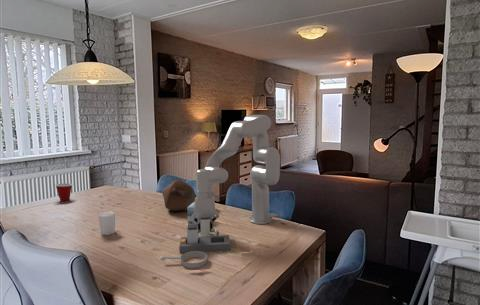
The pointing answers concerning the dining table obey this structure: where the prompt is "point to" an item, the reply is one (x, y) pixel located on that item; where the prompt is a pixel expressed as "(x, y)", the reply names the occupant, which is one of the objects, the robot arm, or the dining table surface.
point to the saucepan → (189, 255)
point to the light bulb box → (190, 210)
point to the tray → (213, 230)
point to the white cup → (107, 223)
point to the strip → (206, 244)
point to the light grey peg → (192, 234)
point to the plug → (205, 226)
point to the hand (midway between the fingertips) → (205, 230)
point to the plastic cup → (64, 191)
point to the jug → (178, 195)
